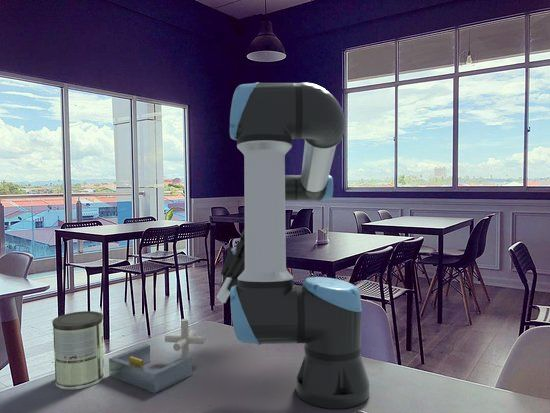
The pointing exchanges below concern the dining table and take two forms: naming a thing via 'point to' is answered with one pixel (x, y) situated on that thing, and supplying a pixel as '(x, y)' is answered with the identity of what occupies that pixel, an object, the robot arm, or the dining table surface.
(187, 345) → the pipe connector
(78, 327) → the coffee can
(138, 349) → the jig
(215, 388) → the dining table surface
